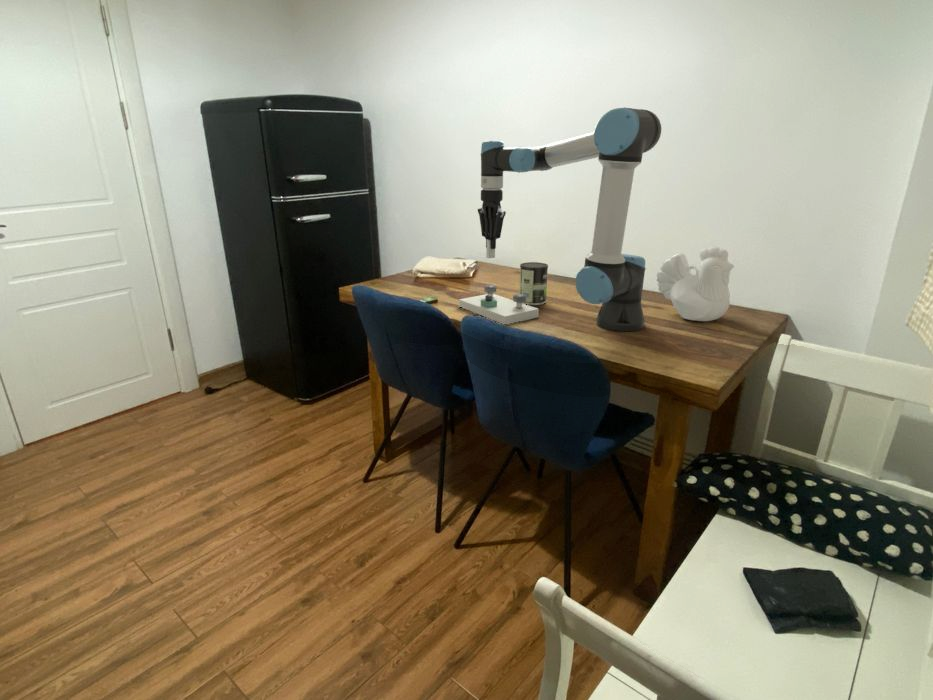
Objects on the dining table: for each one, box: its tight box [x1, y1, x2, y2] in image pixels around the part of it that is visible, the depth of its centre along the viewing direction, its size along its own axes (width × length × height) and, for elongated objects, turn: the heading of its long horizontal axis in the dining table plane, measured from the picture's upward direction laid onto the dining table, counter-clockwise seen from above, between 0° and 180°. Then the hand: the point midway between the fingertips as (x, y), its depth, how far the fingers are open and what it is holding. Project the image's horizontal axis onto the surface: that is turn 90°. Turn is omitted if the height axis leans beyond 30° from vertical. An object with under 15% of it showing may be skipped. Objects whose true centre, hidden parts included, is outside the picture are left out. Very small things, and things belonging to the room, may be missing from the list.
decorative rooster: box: [656, 246, 735, 322], centre depth 184 cm, size 25×16×25 cm, turn 31°
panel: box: [458, 293, 540, 325], centre depth 192 cm, size 26×15×3 cm, turn 36°
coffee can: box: [519, 261, 549, 306], centre depth 203 cm, size 10×10×14 cm
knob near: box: [512, 293, 526, 309], centre depth 187 cm, size 4×4×5 cm
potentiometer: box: [481, 295, 497, 308], centre depth 189 cm, size 4×4×4 cm
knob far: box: [483, 284, 497, 299], centre depth 199 cm, size 4×4×5 cm
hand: (490, 257), depth 194 cm, fingers closed
